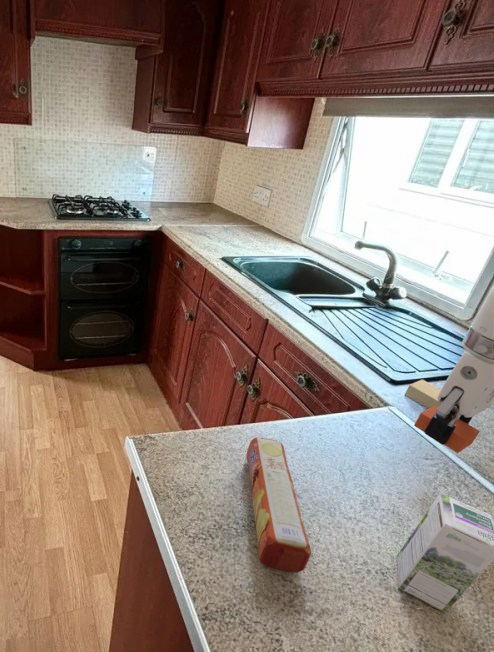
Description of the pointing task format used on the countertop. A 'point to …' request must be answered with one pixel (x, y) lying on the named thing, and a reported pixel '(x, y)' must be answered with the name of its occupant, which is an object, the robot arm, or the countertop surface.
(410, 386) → the sand pad
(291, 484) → the snack package
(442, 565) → the syrup box
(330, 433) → the countertop surface
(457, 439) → the terracotta pad
